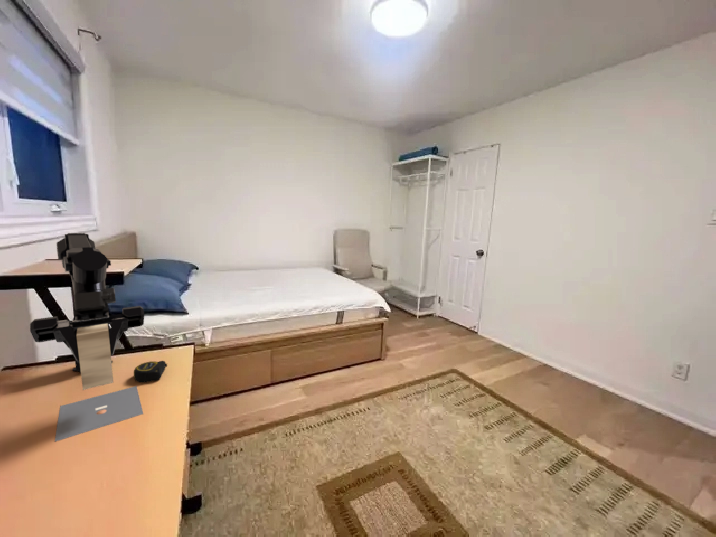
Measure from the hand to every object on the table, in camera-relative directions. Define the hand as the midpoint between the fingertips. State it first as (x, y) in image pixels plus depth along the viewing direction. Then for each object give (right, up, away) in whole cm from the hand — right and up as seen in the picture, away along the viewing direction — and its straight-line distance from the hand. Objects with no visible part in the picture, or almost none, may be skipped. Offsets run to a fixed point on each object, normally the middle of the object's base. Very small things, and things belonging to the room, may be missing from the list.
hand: (95, 358), depth 65 cm
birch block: (-1, -6, +2) cm, 6 cm away
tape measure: (0, -11, +18) cm, 21 cm away
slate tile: (-1, -13, +3) cm, 13 cm away
